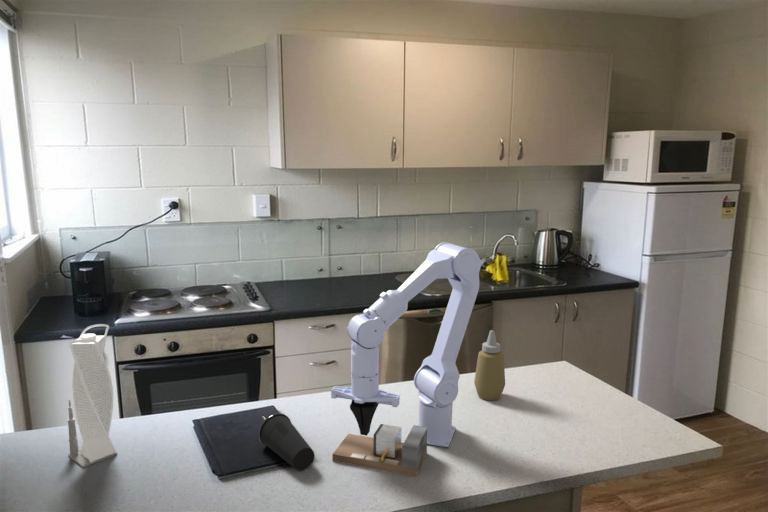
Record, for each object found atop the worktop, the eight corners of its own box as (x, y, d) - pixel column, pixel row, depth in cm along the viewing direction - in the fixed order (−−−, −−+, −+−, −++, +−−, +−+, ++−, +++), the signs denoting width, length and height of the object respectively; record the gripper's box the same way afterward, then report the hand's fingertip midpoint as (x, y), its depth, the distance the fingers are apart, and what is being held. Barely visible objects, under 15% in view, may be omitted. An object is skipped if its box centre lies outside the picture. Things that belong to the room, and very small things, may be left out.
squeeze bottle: (481, 404, 147) (484, 337, 144) (468, 391, 155) (471, 327, 152) (510, 401, 149) (513, 334, 146) (496, 388, 157) (499, 325, 154)
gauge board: (348, 439, 129) (348, 414, 128) (426, 453, 124) (427, 427, 122) (332, 460, 120) (332, 434, 119) (416, 475, 115) (416, 448, 114)
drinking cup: (326, 445, 118) (283, 405, 134) (297, 438, 114) (256, 398, 129) (310, 480, 118) (269, 436, 133) (280, 474, 113) (241, 429, 129)
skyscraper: (108, 440, 127) (98, 319, 122) (126, 453, 122) (116, 326, 117) (68, 456, 121) (55, 328, 116) (85, 469, 116) (73, 337, 111)
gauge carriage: (380, 442, 124) (380, 423, 123) (401, 446, 123) (401, 427, 122) (369, 459, 117) (370, 439, 117) (391, 463, 116) (391, 443, 115)
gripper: (325, 375, 118) (326, 436, 120) (392, 384, 114) (392, 447, 116) (337, 363, 124) (338, 421, 127) (402, 371, 120) (401, 431, 123)
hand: (365, 433), depth 122 cm, fingers closed
